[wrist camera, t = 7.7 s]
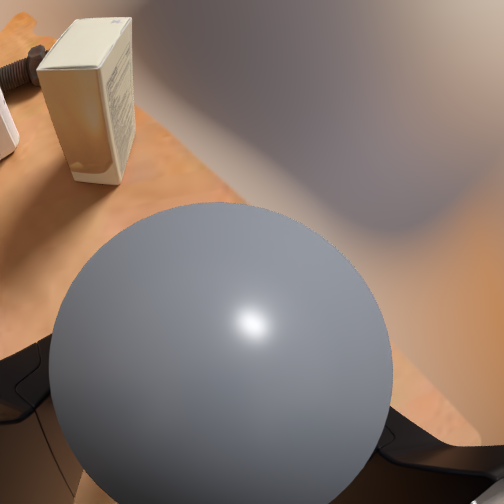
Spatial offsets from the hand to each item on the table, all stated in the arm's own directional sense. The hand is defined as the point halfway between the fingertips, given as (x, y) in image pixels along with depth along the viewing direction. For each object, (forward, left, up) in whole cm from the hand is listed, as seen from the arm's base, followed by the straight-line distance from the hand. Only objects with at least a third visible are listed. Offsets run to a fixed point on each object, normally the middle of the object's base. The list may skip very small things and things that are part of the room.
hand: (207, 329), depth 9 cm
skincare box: (+9, +15, -13) cm, 22 cm away
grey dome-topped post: (-1, -1, -7) cm, 7 cm away
